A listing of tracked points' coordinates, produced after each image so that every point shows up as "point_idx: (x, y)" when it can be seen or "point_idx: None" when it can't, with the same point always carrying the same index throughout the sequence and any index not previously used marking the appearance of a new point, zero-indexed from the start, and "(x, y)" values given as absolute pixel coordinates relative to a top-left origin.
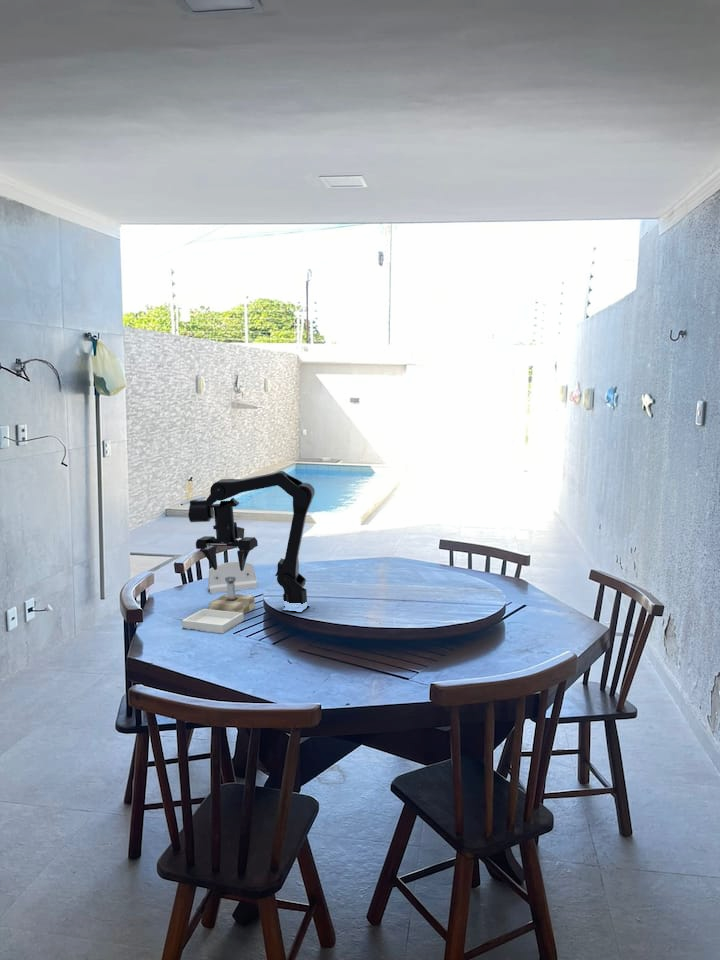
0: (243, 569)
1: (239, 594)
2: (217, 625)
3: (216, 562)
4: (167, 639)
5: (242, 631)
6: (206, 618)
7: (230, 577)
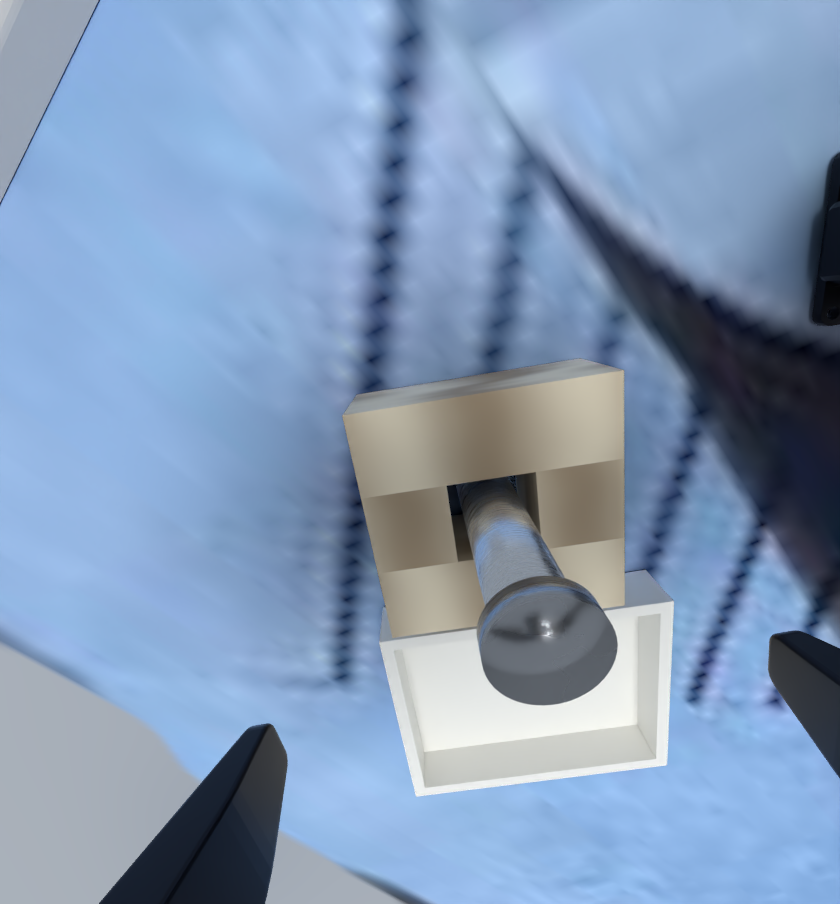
0: (809, 638)
1: (472, 397)
2: (633, 764)
3: (206, 858)
4: (453, 837)
5: (719, 670)
6: (437, 644)
7: (534, 637)
